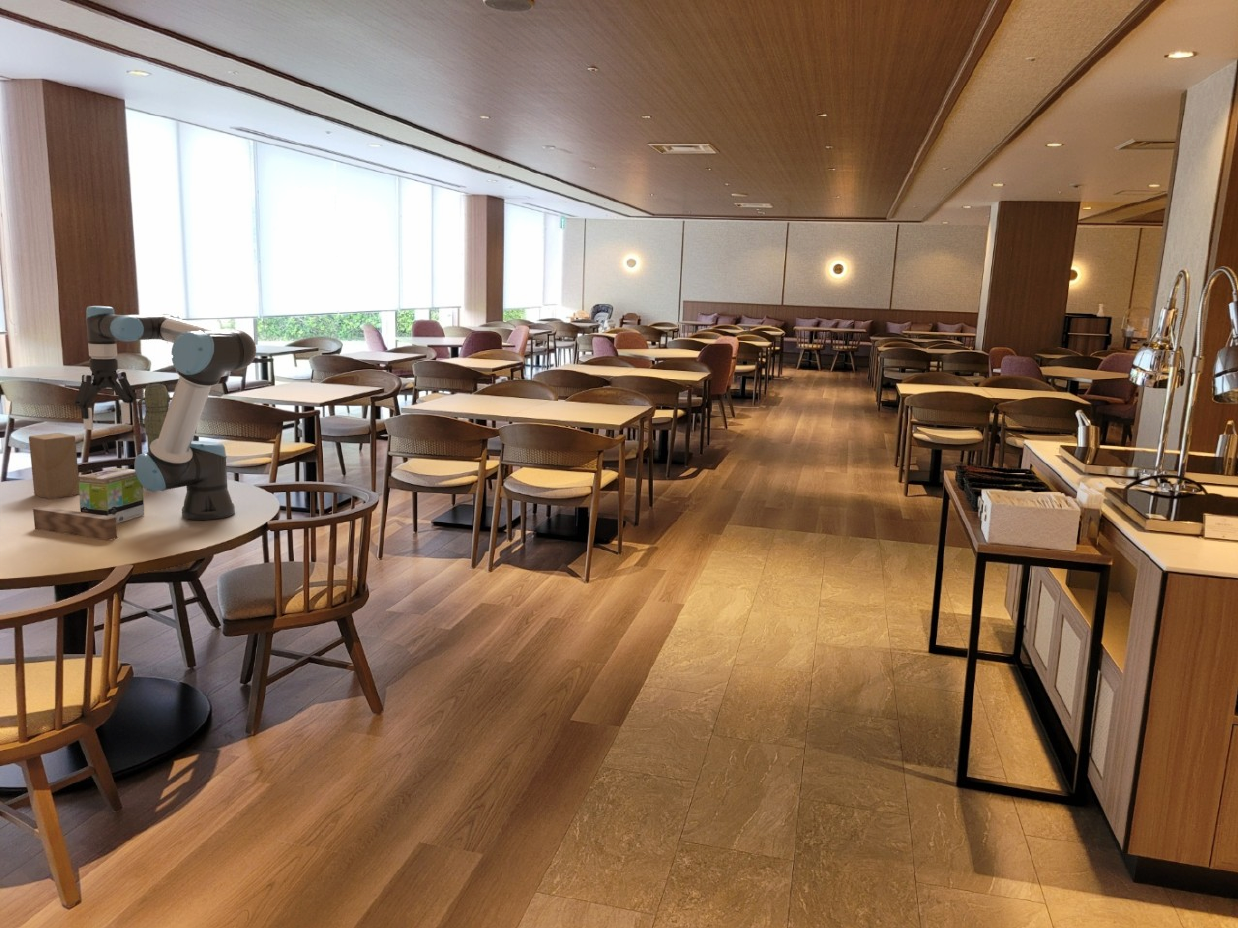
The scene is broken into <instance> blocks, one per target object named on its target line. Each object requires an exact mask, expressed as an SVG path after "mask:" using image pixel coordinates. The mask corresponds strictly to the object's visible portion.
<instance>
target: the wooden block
mask: <svg viewBox="0 0 1238 928" xmlns="http://www.w3.org/2000/svg"><path fill="white" fill-rule="evenodd" d="M28 444H29V454H30V461H31V462H30V464H31V472H32V473H31V475H32V482H33V483H32V484H33V494H34V496H37V497H42V498H44V499H48V500H53V499H58V498H64V497H72V496H77V495H79V476H80V475H79V465H78V455H77V454H78V453H77V443H76V436H75V435H72V434H67V433H64V432H63V433H62V432H54V433H53V432H52V433H46V434H45V433H44V434H37V435H30V436H29V437H28Z"/></svg>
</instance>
